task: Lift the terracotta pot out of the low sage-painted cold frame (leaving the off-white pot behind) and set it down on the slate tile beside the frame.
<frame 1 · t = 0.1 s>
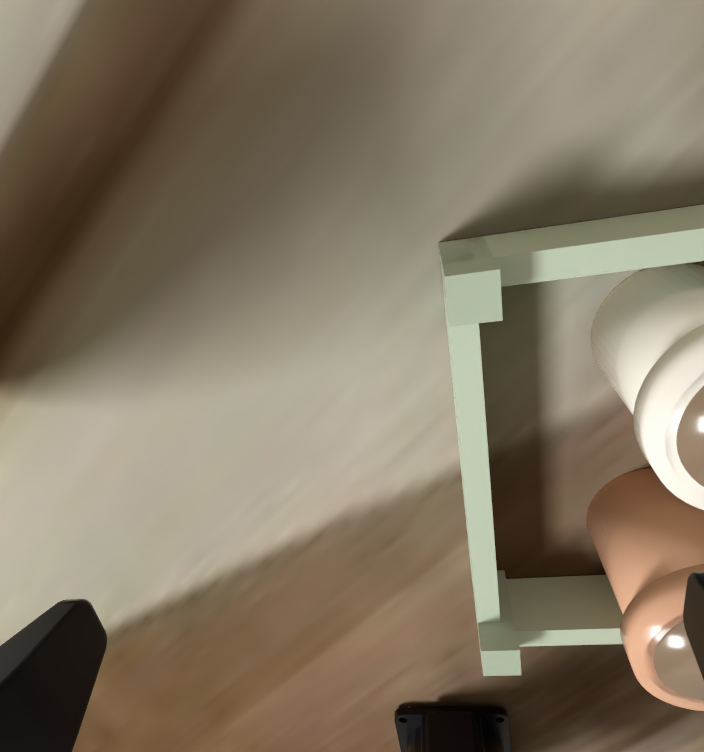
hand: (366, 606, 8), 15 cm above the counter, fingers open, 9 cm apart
cold frame: (654, 430, 23), on the counter
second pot: (662, 329, 21), resting in cold frame
terracotta pot: (647, 515, 25), resting in cold frame
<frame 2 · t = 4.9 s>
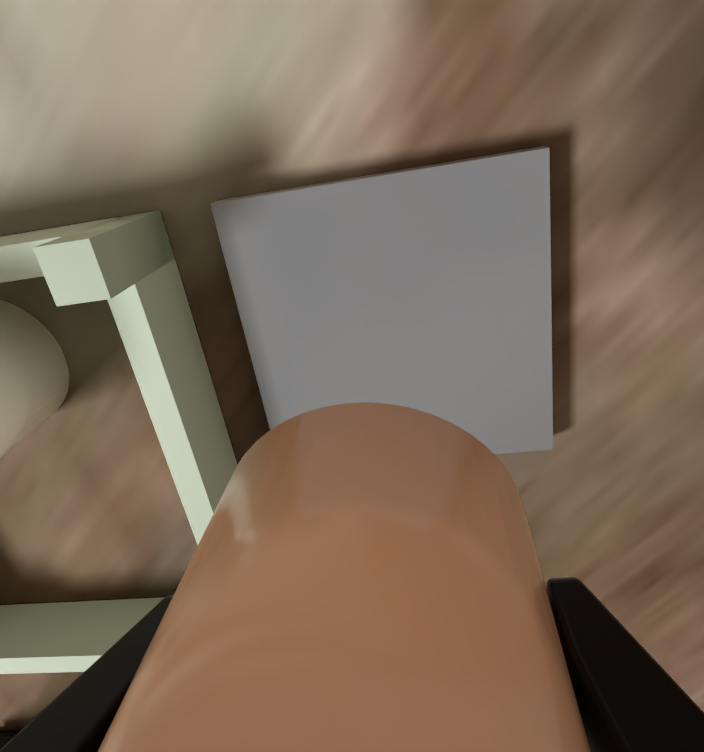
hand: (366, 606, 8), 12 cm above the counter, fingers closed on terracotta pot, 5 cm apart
cold frame: (48, 460, 23), on the counter
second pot: (2, 362, 21), resting in cold frame
slate tile: (394, 327, 19), on the counter
terracotta pot: (371, 533, 9), point 10 cm above the counter, touching gripper
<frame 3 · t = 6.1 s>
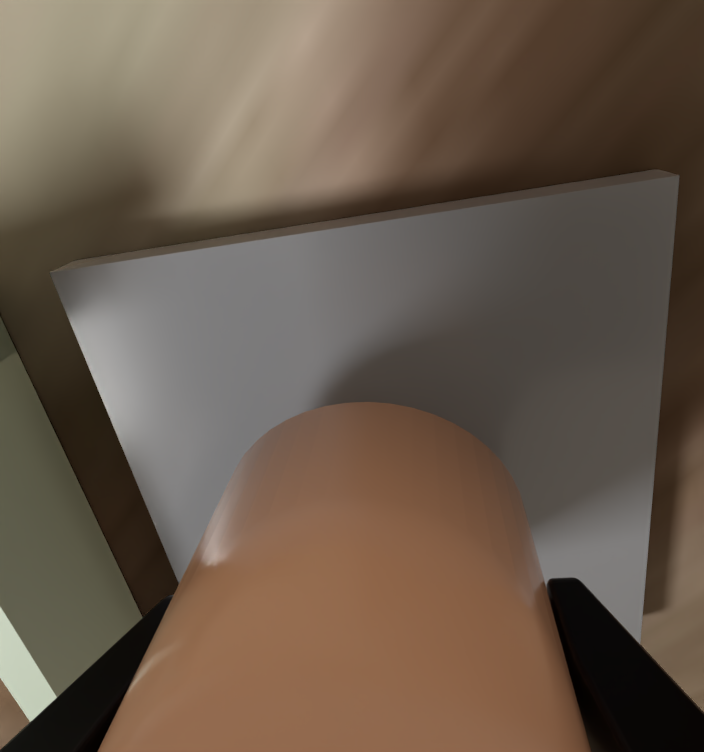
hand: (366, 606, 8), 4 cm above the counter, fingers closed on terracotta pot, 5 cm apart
slate tile: (382, 461, 11), on the counter
terracotta pot: (371, 532, 9), point 2 cm above the counter, touching gripper
when the fingers open (3 cm above the counter, at t = 7.0 s): terracotta pot stays where it is, resting on slate tile.
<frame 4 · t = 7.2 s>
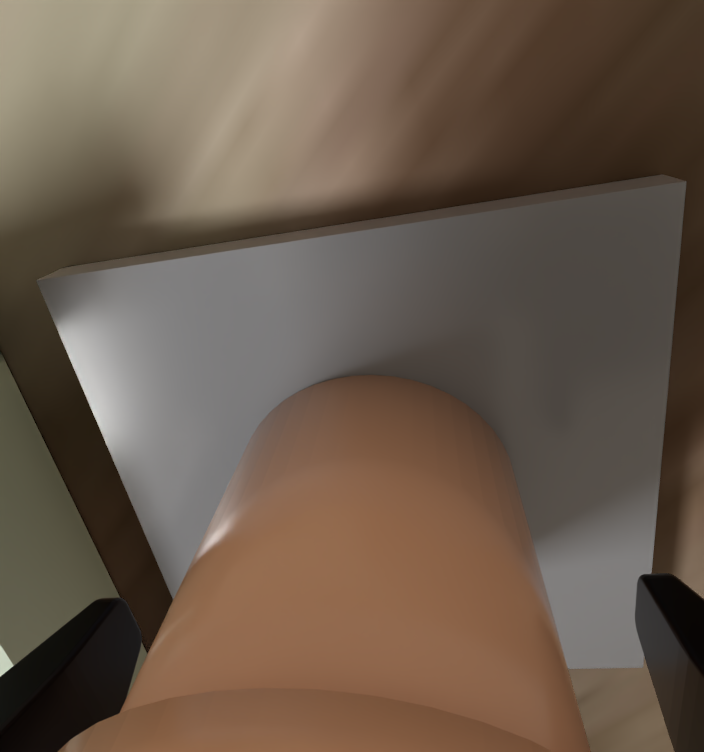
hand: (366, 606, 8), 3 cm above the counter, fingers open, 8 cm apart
slate tile: (380, 472, 11), on the counter
terracotta pot: (374, 497, 10), point 1 cm above the counter, touching slate tile
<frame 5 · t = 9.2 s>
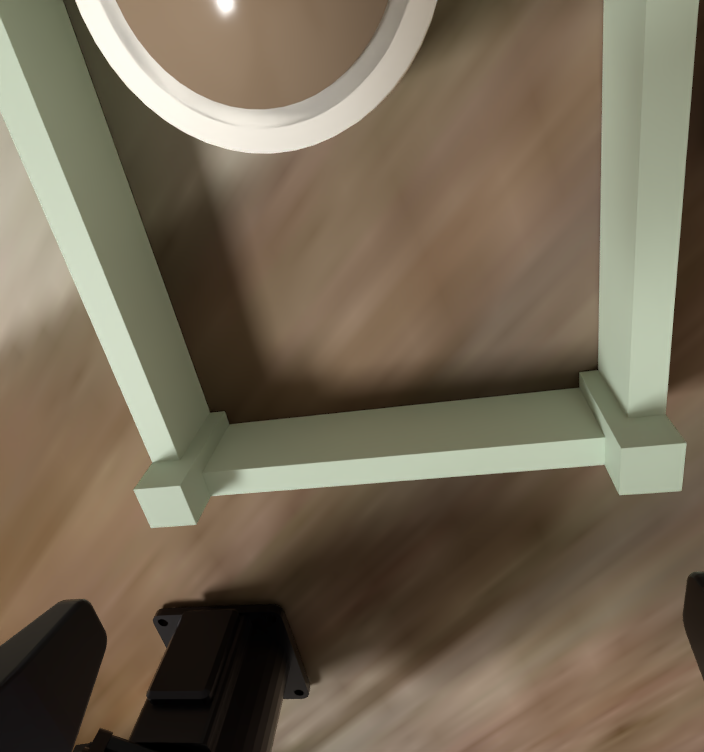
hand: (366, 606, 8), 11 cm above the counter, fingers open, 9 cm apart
cold frame: (352, 178, 16), on the counter
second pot: (321, 1, 14), resting in cold frame
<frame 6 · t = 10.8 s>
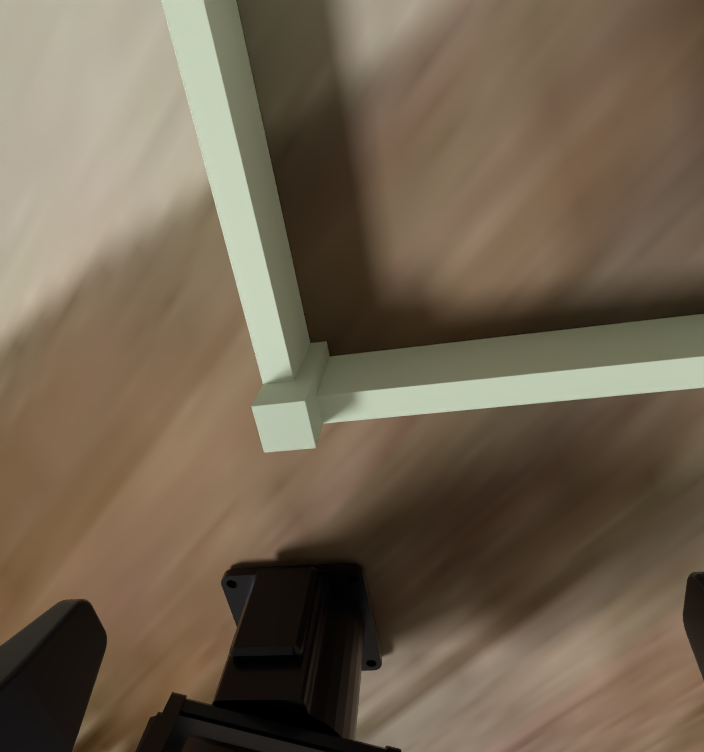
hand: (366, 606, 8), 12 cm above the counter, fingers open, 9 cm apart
cold frame: (500, 71, 15), on the counter
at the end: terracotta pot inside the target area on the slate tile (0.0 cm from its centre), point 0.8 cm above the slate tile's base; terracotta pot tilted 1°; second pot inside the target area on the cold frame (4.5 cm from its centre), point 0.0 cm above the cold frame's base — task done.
